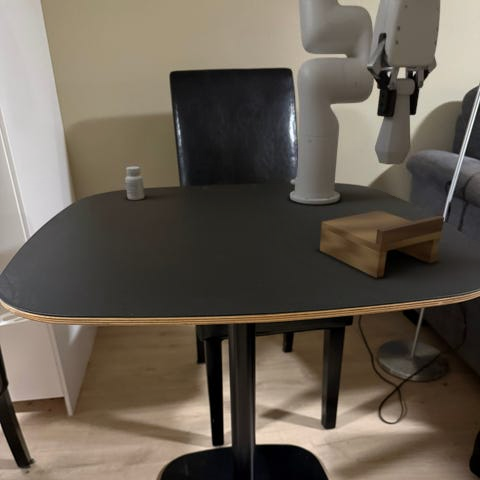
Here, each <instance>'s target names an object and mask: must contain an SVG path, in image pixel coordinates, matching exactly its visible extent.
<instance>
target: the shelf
mask: <svg viewBox="0 0 480 480" xmlns="http://www.w3.org/2000/svg"><path fill="white" fill-rule="evenodd" d="M444 222H445V216H441V215H435V216H431V217H427V218H421V219H418V220H413V221H412V220H409V219H407V218H403V217H401V216H397V215H394V214H392V213H388V212H386V211H382V210H380V209H379V210H374V211H368V212H364V213H358V214H354V215H353V214H352V215H348V216H343V217H338V218H333V219H329V220H323V221H321V229H320V240H319V241H320V244H319V251H320V252H322V253H324V254H326V255H328V256H330V257H332V258H334V259H336V260H338V261H339V262H340V261H341V262H343V263H344V264H347V265H349V266H350V267H353V268H355V269H357V270H359V271H361V272H363V273H365V274H366V275H369V276H371V277H373V278H375V279H378V278H381V277H382V278H383V277H384V274H385V267H386V261H387V253H388V252H389V251H392V250H395V251H398V252H400V253H402V254H403V253H404V254H406V255H408V256H409V257H412V258H416V259H418V260H420V261H423V262H425V263H428V264H432V263H435V262H436V261H437V256H438V251H439V247H440V241H441V237H442V231H443V228H444V227H443V226H444Z"/></svg>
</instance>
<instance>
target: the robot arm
mask: <svg viewBox="0 0 480 480" xmlns="http://www.w3.org/2000/svg"><path fill="white" fill-rule="evenodd" d="M298 9H299V27H300V39H301V44H302V45H301V46H302V48H303V49H304V51H305V52H306V53H308V54H313V55H345V57H335V56H334V57H332V56H331V57H330V56H329V57H315V58H311V59H308V60H306V61H304V62H303V63H302V64H301V65H300V66H299V69H298V71H297V76H296V86H297V96H298V112H299V113H298V115H299V119H298V143H297V162H296V163H297V166H296V167H297V168H296V177H294V178H292V179H291V180H290V184H291V185H294V190H293V191H291V192H290V193H289V198H290V200H291V201H293V202H296V203H299V204H304V205H305V204H306V205H328V204H334V203H336V202H338V201H340V197H341V194H340V193H339V192H338V191H335V185H336V174H337V173H336V172H337V161H338V148H339V138H340V137H339V136H340V123H339V119H338V117H337V115H336V114H335V111H334V110H333V109H332V107H331V105H339V104H340V105H341V104H342V105H343V104H344V105H345V104H359V103H363V102H365V101H367V100H368V99H369V98H370V96H371V95H372V92H373V90H374V85H375V83H376V88H377V89H378V90H379V93H378V101H377V112H376V116H377V117H383V118H384V117H393V116H394V111H395V103H396V96H397V90H393V89H394V87H395V84H396V80H397V78H398V76H399V73H400V69H402V68H403V69H404V70H405V71H404V72H405V73H404V78H409V79H412V80H413V81H414V82H415V88H414V92H413V94H411V95H409V97H410V116H415V115H416V114H417V109H418V105H419V104H418V103H419V97H420V89H422V88H423V87H424V82H425V81H426V80H427V78H428V77H429V74H431V73H432V72H433V71H434V70H435V69H436V68H437V66H438V63H437V59H436V56H435V55H436V51H437V47H438V40H439V39H438V38H439V30H440V20H441V19H440V18H441V0H380V1H379V4H378V8H377V12H376V16H375V20H374V21H375V22H374V25H373V20H372V16H371V14H370V12H369V11H368V10H367V9H366V8H365V7H364V6H361V5H347V4H346V5H342V4H340V2H339V0H298ZM388 74H389V75H388Z"/></svg>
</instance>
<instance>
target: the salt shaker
mask: <svg viewBox="0 0 480 480" xmlns="http://www.w3.org/2000/svg"><path fill="white" fill-rule="evenodd" d="M414 88H415V82H414V81H413V80H412V79H409V78H405V77H397V80H396V84H395V87H394V89H393V90H397V96H396V103H395V111H394V116H393V117H383V119H382V122H381V125H380V128H379V132H378V135H377V139H376V142H375V144H374V151H375V154H376V157H377V161H378V163H379V164H381V165H382V164H383V165H388V166H389V165H393V166H394V165H401V164H404V162H405V161H406V159H407V157H408V155H409V153H410V151H411V148H412V147H411V115H410V97H409V95H411V94H413V92H414Z"/></svg>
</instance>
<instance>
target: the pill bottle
mask: <svg viewBox="0 0 480 480" xmlns="http://www.w3.org/2000/svg"><path fill="white" fill-rule="evenodd" d="M125 173H126V176H125V178H124V181H125V186H126V187H125V189H126V197H127V199H128V200H131V201H138V200H143V199H145V187H144V178H143V176H142V175H140V174H141V168H140V166H136V165H135V166H127V167H125Z"/></svg>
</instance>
